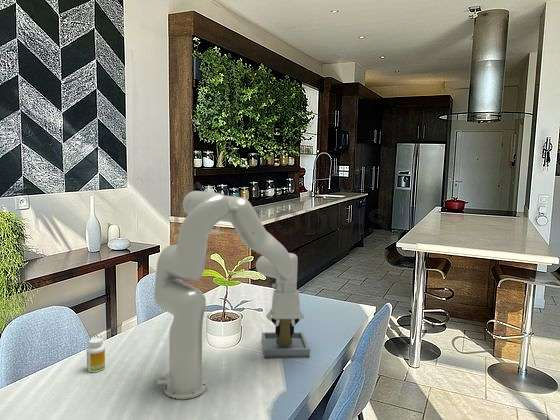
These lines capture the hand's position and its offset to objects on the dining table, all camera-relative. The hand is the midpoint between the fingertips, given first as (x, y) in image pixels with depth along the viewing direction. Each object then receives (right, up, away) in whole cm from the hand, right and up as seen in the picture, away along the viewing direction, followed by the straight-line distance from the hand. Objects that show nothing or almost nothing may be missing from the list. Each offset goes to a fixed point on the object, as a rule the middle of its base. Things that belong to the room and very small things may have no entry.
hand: (284, 335), depth 164 cm
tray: (0, -5, +1) cm, 5 cm away
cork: (0, -3, 0) cm, 3 cm away
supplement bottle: (-61, -6, -20) cm, 65 cm away
